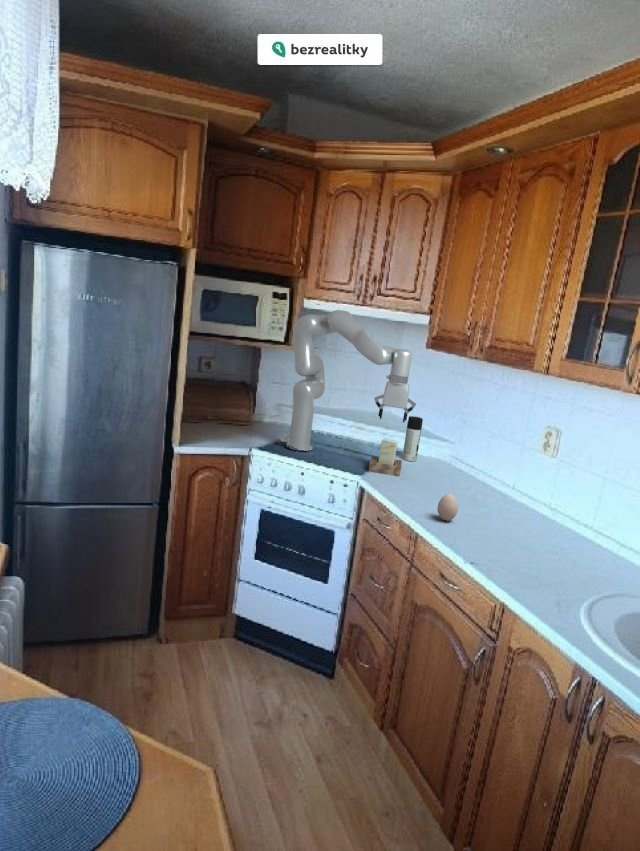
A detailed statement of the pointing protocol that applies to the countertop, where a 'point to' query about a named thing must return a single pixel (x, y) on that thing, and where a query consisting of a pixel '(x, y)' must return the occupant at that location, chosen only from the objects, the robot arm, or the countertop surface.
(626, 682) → the countertop surface
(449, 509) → the egg
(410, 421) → the spray can
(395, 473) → the socket block
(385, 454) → the skincare box
